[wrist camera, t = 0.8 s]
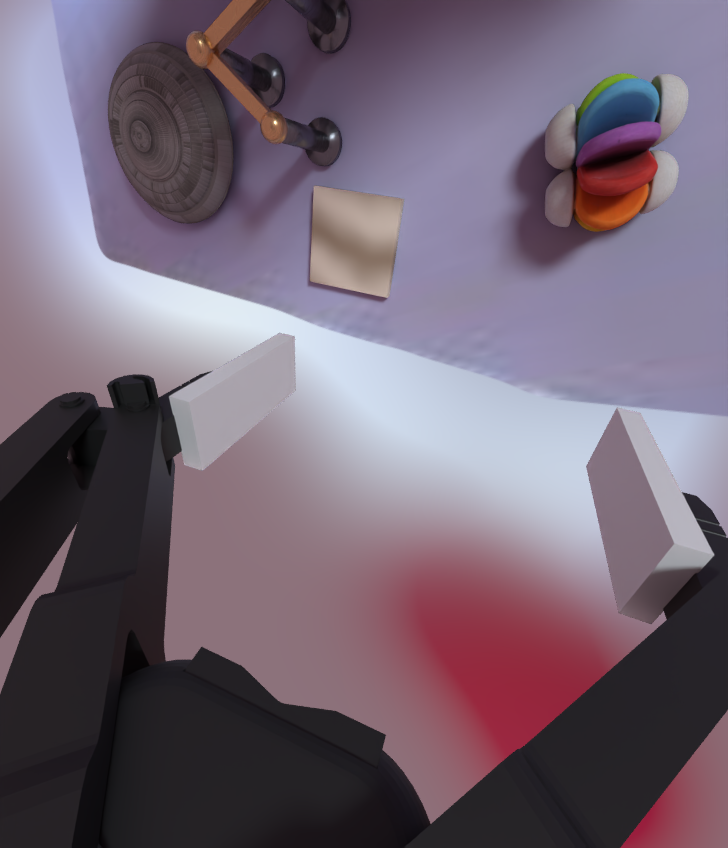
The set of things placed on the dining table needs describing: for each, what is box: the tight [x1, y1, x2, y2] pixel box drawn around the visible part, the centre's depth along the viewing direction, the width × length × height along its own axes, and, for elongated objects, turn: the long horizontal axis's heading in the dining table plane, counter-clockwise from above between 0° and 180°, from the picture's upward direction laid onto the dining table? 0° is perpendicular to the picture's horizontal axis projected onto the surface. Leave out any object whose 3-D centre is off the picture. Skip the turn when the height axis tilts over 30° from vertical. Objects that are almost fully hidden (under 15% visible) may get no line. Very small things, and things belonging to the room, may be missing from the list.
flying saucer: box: [108, 42, 233, 223], centre depth 38 cm, size 15×15×6 cm
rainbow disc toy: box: [545, 73, 688, 232], centre depth 27 cm, size 8×10×7 cm
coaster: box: [310, 186, 404, 298], centre depth 39 cm, size 9×9×1 cm
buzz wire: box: [186, 0, 351, 166], centre depth 30 cm, size 12×10×10 cm
